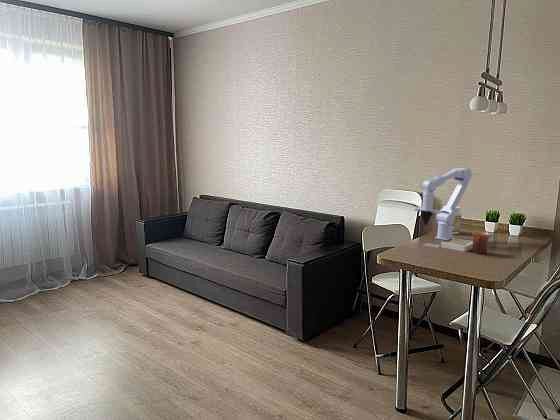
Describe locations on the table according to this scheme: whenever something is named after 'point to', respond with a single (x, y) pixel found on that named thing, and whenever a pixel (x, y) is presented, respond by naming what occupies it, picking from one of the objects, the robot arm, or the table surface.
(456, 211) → the supplement tub
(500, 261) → the table surface
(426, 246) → the slate coaster
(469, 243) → the frame
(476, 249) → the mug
